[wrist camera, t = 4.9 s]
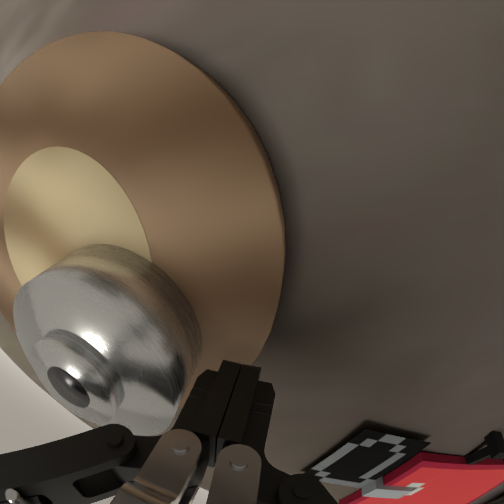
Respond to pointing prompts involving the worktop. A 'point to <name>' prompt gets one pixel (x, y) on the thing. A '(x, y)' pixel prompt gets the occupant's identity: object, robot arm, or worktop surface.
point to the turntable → (141, 182)
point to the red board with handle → (411, 471)
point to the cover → (110, 337)
